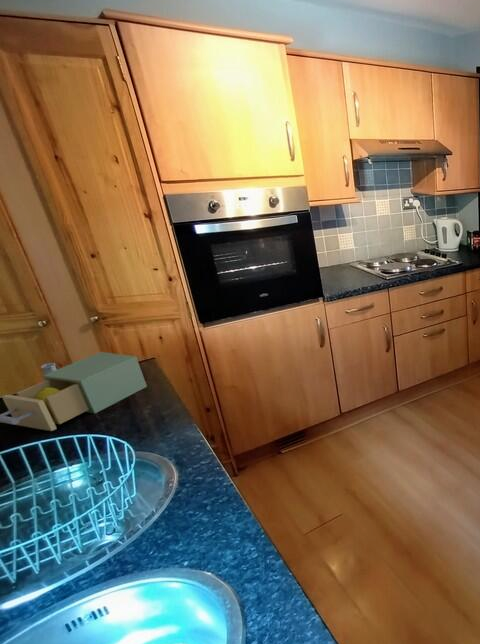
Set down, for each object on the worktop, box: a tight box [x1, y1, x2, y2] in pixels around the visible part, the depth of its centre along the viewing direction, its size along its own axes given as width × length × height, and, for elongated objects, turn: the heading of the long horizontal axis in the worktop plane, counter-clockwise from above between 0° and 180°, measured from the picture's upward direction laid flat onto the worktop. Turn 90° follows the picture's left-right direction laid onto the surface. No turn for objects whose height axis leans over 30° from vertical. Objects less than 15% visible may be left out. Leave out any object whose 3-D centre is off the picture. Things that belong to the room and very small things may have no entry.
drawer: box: [0, 379, 91, 432], centre depth 122 cm, size 20×12×9 cm, turn 167°
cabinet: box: [43, 351, 148, 414], centre depth 133 cm, size 16×14×11 cm
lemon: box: [36, 387, 60, 413], centre depth 122 cm, size 6×6×8 cm
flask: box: [40, 362, 58, 375], centre depth 135 cm, size 7×7×10 cm
